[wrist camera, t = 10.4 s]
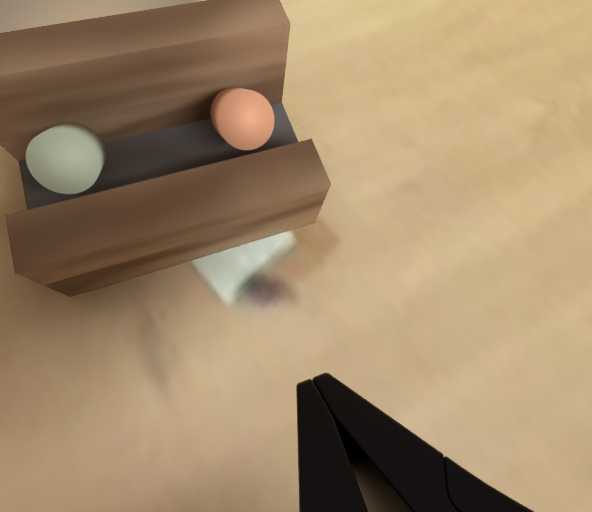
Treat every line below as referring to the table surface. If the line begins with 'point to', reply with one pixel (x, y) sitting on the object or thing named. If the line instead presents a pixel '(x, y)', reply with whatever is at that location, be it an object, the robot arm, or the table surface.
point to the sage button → (66, 157)
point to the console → (153, 140)
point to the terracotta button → (242, 117)
